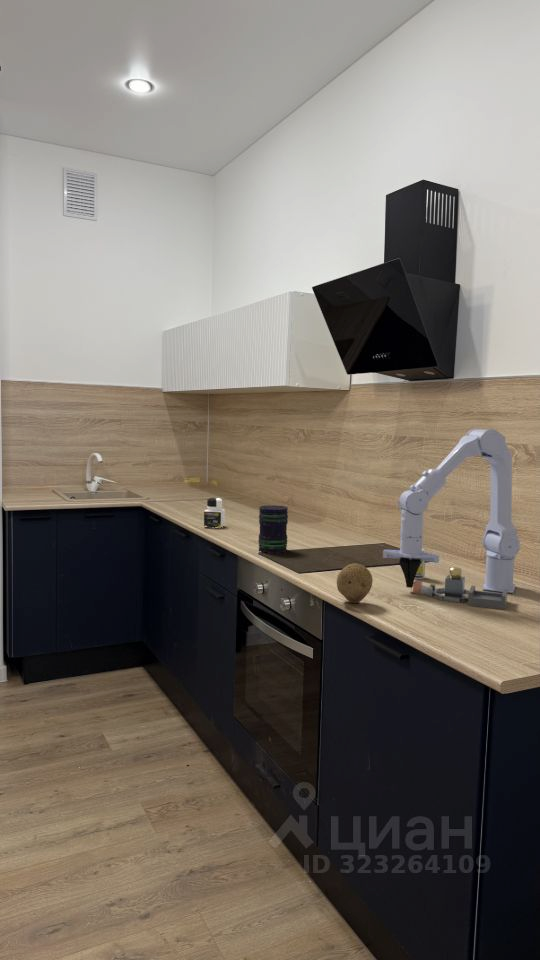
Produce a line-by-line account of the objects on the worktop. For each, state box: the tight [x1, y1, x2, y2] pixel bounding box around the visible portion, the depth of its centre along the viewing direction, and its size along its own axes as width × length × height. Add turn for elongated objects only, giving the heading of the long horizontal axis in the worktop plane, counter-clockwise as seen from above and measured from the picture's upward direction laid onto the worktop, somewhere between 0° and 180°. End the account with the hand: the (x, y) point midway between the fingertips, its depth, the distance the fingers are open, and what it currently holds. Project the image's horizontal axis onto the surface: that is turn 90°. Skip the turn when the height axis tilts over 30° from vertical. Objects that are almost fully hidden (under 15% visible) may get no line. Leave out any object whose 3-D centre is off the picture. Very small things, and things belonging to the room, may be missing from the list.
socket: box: [426, 583, 470, 603], centre depth 179 cm, size 11×12×2 cm
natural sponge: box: [336, 563, 374, 604], centre depth 170 cm, size 9×9×10 cm
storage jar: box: [258, 505, 289, 554], centre depth 235 cm, size 10×10×15 cm
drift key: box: [412, 580, 432, 595], centre depth 182 cm, size 3×4×3 cm, turn 68°
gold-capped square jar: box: [444, 566, 466, 598], centre depth 179 cm, size 4×4×8 cm
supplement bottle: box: [414, 548, 426, 580], centre depth 199 cm, size 5×5×8 cm
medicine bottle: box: [203, 497, 226, 529], centre depth 282 cm, size 7×7×12 cm
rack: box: [467, 585, 508, 610], centre depth 173 cm, size 8×9×3 cm
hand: (409, 586), depth 183 cm, fingers closed
